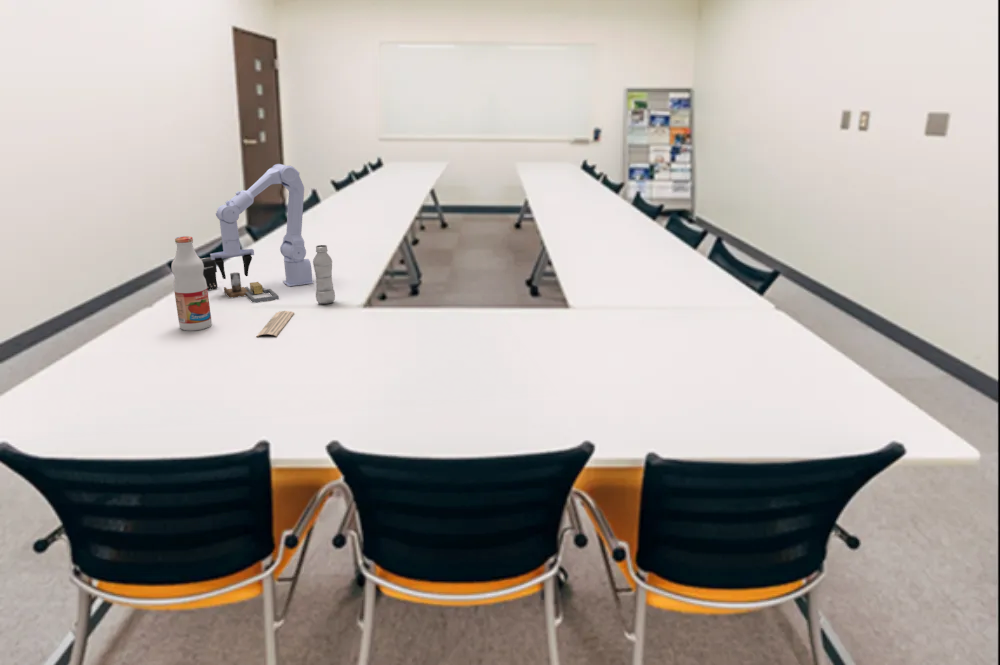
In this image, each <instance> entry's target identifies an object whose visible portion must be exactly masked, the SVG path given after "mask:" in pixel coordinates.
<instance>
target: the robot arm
mask: <svg viewBox="0 0 1000 665" xmlns="http://www.w3.org/2000/svg"><path fill="white" fill-rule="evenodd" d="M279 184H280V185H282V186H283V187H285V189H286V190H287V191H288V198H287V199H288V202H287V220H286V233H285V235H284V236H283V237H282V238H283V239H282V243H281V245H280V249H279V250H280V254H281V255H282V256H283V261H284V262H283V263H284V274H285V276H284V277H285V280H282V283H284V284H285V285H286V286H287V287H296V286H302V285H303V286H304V285H311V284H313V283H314V281H313V273H312V272H313V270H312V264H311V260H310V259H309V258H305V257H306V255H307V250H306V247H305V240H304V238H303V236H302V228H303V215H304V214H303V213H304V197H305V186H304V183H303V181H302V179H301V176H300V172H299V171H298V170H297V169H296V168H295V167H294V166H292V165H286V164H282V163H276V164H274V165H272V167H270V168H269V169H267V170H266V172H264V173H263V175H262V176H260V177H259V178H258V180H256V181H255V182H254V183H253V184H252V185H251V186H250V187H249V188H248V189H247V190H244V189H242V190H240V191H239V190H237V191H236V192H235V195H234V196H233V197H231V198H230V199H229V200H226V201H225V204H221V205H220V206H218V207H217V210H216V213H215V216H216V218H217V219H218V220H219V226H220V227H219V228H220V234H221V236H220V237H221V241H222V250H223V251H218V252H213V253H209V255H210V258H211V260H214V261H215V263H216V267H218V269H219V272H220V274H221V277H222V279H223V280H226V279H227V278H226V276H227V275H226V271H225V261H224V260H223V259H228V258H236V257H241V258H242V263H243V273H244V276H245V277H248V276H249V269H250V265H251V262H252V260H253V256H255V250H254V249H253V248H246V249H245V248H244V249H241V244H240V236H239V235H240V233H239V227H238V220H239V218H240V215H241V214H242V213H243V212H245V210H247V208H249V207H250V206H252V205H253V204H254V201H255V200H254V199H255V197H257V196H258V195H259V194H261V193H262V192H263V191H264V190H266V189H267V188H269V186H272V185H279Z"/></svg>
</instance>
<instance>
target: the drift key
mask: <svg viewBox="0 0 1000 665" xmlns="http://www.w3.org/2000/svg"><path fill="white" fill-rule="evenodd" d="M262 287H263V285H262V284H261V283H260V282H259V281H256V282H255V281H253V282H249V289H250V290H251V291H253V295H259V294H264V293H263V289H262Z"/></svg>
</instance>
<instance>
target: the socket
mask: <svg viewBox="0 0 1000 665" xmlns="http://www.w3.org/2000/svg"><path fill="white" fill-rule="evenodd" d="M244 288H245V289H247V290H248V291H249V292H245V294H246V296H247V297H248V298H249V299H250V300H251V301H252V302H256V303H261V302H260V301H263V302H268V301H267V300H270V301H275V300H274V299H277V300H280V296H279V295H278V293H276V292H275V291H274V290H272V289H271V288H267V289H266V288H264V287H263V286H262V289H263V293H262V294H264V293H265V294H269V293H270V294H271V295H272V296H271V295H270V294H269V295H270V296H269V295H268V296H263V297H254V293H253V291H251V290H250V287H248V286H245V287H244ZM246 296H245V297H246ZM247 297H246V298H247ZM248 298H247V299H248ZM249 299H248V300H249ZM250 300H249V301H250ZM251 301H250V302H251Z"/></svg>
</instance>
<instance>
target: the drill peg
mask: <svg viewBox="0 0 1000 665" xmlns="http://www.w3.org/2000/svg"><path fill="white" fill-rule="evenodd" d="M229 276H230V284H231V289H232V292H241V291H242V290H241V287H242V282H241V273H240V272H230V274H229Z"/></svg>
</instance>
